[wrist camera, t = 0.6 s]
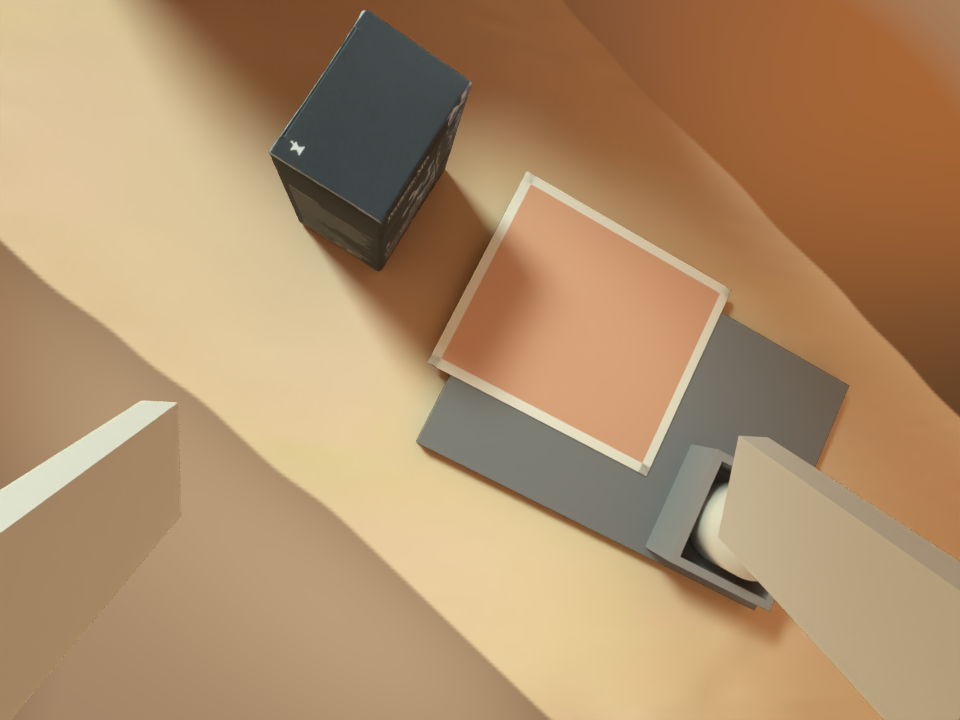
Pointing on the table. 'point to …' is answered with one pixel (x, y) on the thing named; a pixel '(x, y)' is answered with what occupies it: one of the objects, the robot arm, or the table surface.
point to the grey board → (614, 382)
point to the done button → (716, 534)
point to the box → (370, 140)
